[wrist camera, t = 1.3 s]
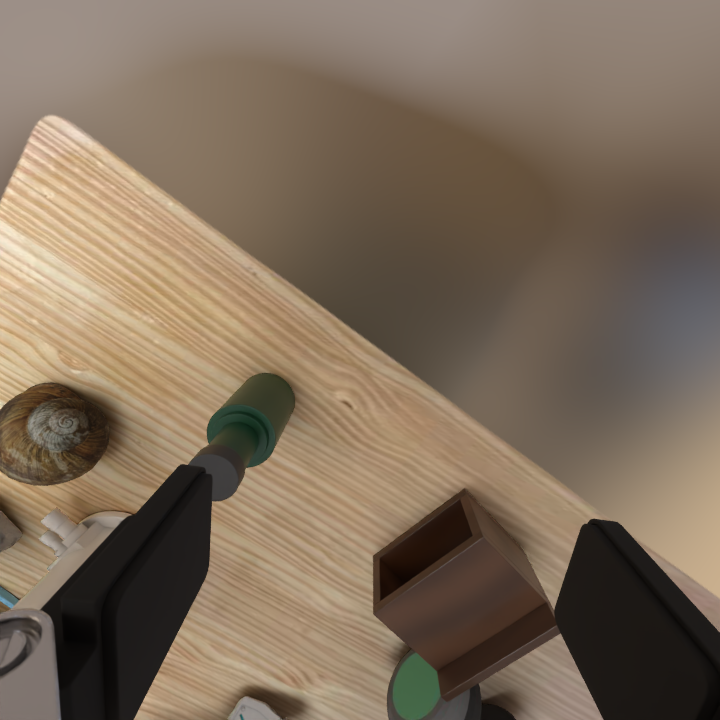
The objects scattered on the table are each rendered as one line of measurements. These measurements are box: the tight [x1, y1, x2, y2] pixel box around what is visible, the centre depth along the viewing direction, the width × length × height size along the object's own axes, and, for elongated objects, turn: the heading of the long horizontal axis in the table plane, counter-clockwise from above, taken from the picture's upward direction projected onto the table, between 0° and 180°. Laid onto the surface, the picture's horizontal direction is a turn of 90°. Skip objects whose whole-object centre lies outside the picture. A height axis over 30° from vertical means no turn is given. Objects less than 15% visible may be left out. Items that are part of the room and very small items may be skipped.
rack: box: [373, 489, 560, 702], centre depth 43 cm, size 11×14×10 cm
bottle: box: [188, 373, 295, 501], centre depth 36 cm, size 6×6×16 cm
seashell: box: [0, 383, 109, 486], centre depth 41 cm, size 11×9×8 cm
